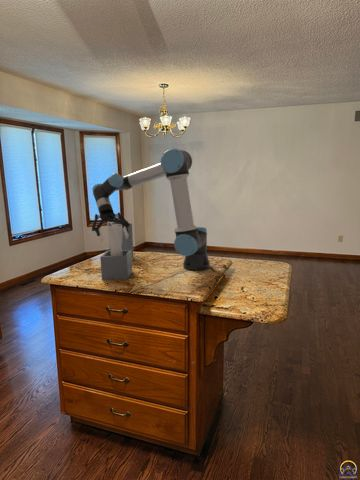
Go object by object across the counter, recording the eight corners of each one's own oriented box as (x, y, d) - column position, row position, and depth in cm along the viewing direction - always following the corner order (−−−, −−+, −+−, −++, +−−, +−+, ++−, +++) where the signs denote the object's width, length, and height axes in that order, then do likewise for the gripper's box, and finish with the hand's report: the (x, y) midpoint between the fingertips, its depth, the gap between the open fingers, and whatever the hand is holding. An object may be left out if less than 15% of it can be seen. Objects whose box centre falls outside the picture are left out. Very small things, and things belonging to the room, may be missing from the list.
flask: (135, 257, 208) (133, 218, 203) (131, 258, 204) (129, 219, 199) (113, 254, 215) (111, 217, 211) (109, 256, 211) (106, 218, 207)
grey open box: (132, 271, 176) (131, 250, 173) (128, 279, 163) (126, 256, 160) (108, 271, 176) (106, 250, 174) (101, 279, 163) (100, 256, 161)
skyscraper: (107, 276, 166) (104, 222, 160) (111, 271, 174) (108, 220, 168) (124, 276, 165) (121, 222, 160) (127, 271, 173) (124, 220, 168)
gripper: (125, 210, 185) (136, 240, 175) (81, 213, 173) (89, 246, 163) (128, 202, 179) (139, 232, 169) (82, 204, 167) (91, 237, 157)
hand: (115, 239), depth 166 cm, fingers open, 13 cm apart
